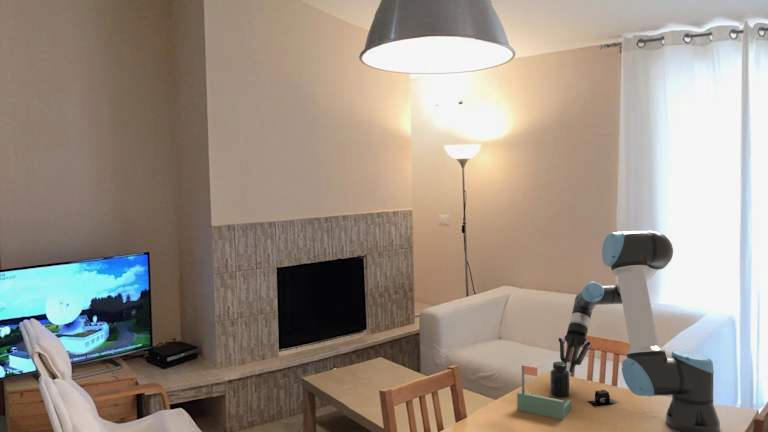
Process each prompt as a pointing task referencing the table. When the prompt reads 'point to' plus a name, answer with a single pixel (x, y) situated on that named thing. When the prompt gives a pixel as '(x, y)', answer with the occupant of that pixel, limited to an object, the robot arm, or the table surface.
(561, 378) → the supplement bottle
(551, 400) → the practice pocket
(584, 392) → the table surface
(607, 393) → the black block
